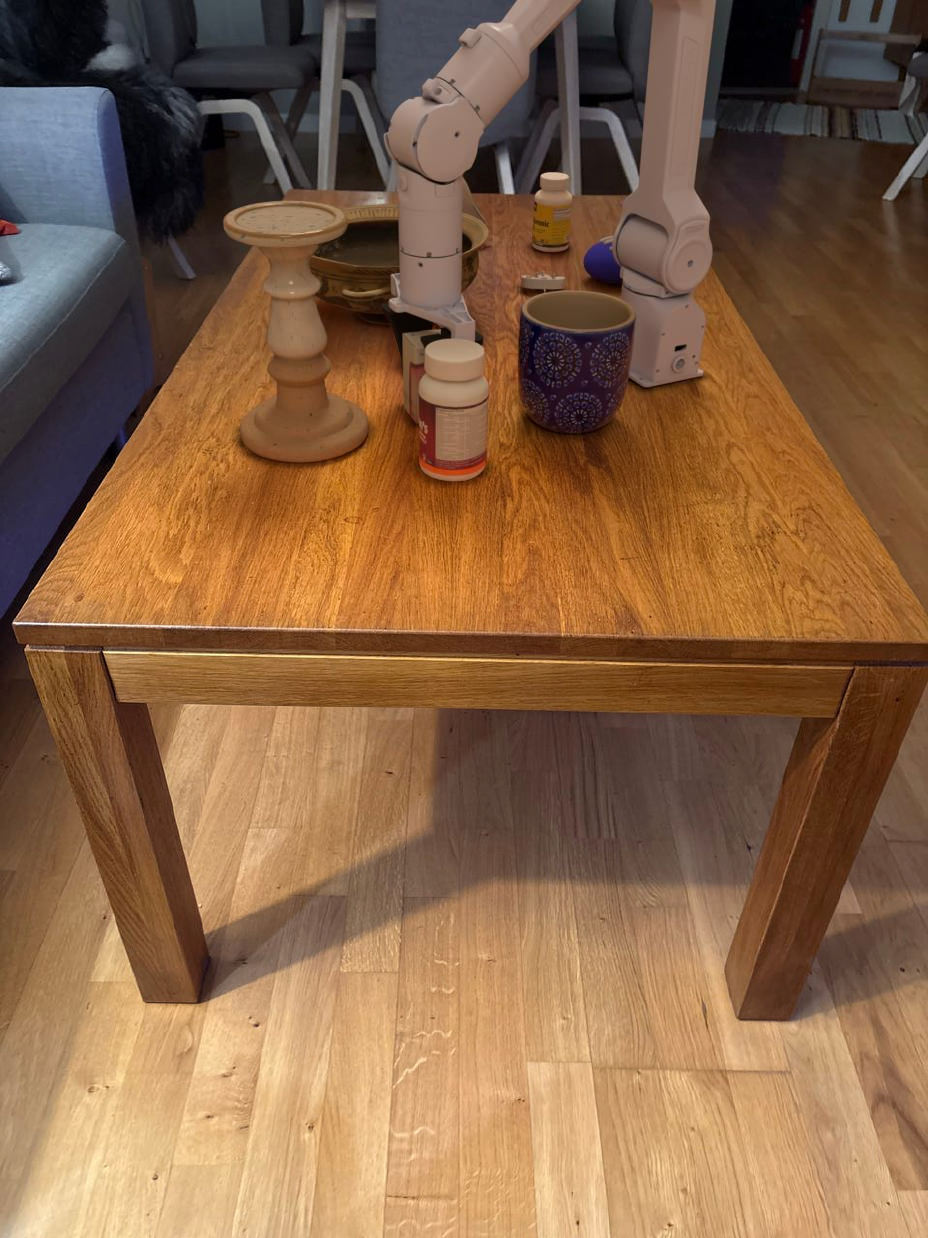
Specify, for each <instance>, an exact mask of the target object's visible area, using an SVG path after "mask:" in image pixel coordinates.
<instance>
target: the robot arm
mask: <svg viewBox="0 0 928 1238" xmlns="http://www.w3.org/2000/svg"><path fill="white" fill-rule="evenodd" d="M581 1H582V0H516V1H515V3H514V4H513V5H512V6H511V7H510V9H509V11H508V12H507V13H506V14H505V16H504V17H503V19H502V20H501V21H500V22H481V23H480V24H478V25H477V27H476V28H470V27H468V28H466V29H465V31H464V32H463V33H462V34H461V36H460V37H459V38H458V42H459V43H460V44H461V46H460V47H459V48H458V49H457V50H456V52H455V53H454V54H453V55H452V56H451V58H449V60H448V61H447V62H446V64H445V65H444V66H443V67H442V69H440V71H439V72H438V73H437V74H436V76H435V77H434V78H433V79H432V78H427V79H426V81H425V82H424V83H423V85H422V86H421V89H422V94H421V96H414V97H413V99H412V98H408V99H406V100H405V101H403V102H402V103H401V104H400V105H398V107H397V108H396V109H395V111H394V112H393V115H392V117H391V119H390V121H389V122H390V125H389V127H388V131H387V132H384V134H383V141H384V145H385V149H386V152H387V153H388V156H389V157H390V158H391V159H392V161H393V162H394V164H395V166H396V170H397V204H398V218H399V259H400V273H398V274H391V294H393V295H394V296H396V297H397V298H392V299H390V300H389V303H385V304H383V305H382V311H383V313H384V314H385V316H386V318H387V320H388V322H389V324H390V325H389V326H390V328H391V330H392V333H393V335H394V338H395V342H396V346H397V350H398V354H399V358H400V362H401V367H402V366H403V333H411V332H419V331H424V330H433V328H434V325H435V324H436V325H437V326H439V327H440V329H441V334H439V333H438V334H432V335H426V336H421V337H420V341H421V343H422V344H423V346H424V348H426V346H427V345H428V344H430V343H432V342H434V341H438V340H442V339H464V340H469V341H473V342H475V343H478V344H479V345H481V346H482V347H483V345H484V336H483V335H482V333H479V332H478V330H476V320H474V319H473V317H471V315H470V312H469V310H468V307H467V303H466V301H465V298H464V295H463V294H462V293H461V282H462V211H463V178H464V174H465V172H467V171H468V170H470V169H471V168H472V167H473V164H474V162H475V160H476V158H477V154H478V148H479V141H480V138H481V137H482V136H483V134H484V133H485V129H486V128H487V127H488V125H490V124H491V122H492V121H493V120H494V119H495V118H496V116H497V115H498V114H499V113H500V112H501V111H502V109H503V108H504V107H505V106H507V104H508V102H509V101H510V100H511V99H512V98H513V96H515V94H516V93H517V92H518V90H520V88H521V87H522V86H523V85H524V84H525V82H526V81H527V80H528V79H529V76H530V57H531V54H532V53H533V52H534V50H535V49H536V48H537V47H539V45H540V44H541V43H542V42H543V41H544V40H545V39H546V38H547V37H548V36H549V35H550V34H551V33H552V32H553V31H554V30H555V28H557V26H559V25H560V23H561V22H563V20H564V19H565V18H567V16H568V15H569V14H570V13H571V12H573V10H574V9H575V8H576V7H577V5H579V4H580V2H581ZM648 1H649V2H650V3H651V5H652V16H651V17H652V20H651V31H650V44H649V53H648V68H647V77H646V78H647V79H646V80H647V81H646V92H645V101H644V102H645V103H644V114H643V115H644V116H643V117H644V118H643V126H642V137H641V149H640V162H639V173H638V175H639V176H638V185H637V188H635V189H634V190H633V191H632V192H631V193H630V194H629V195H627V197H625V198H624V199H623V201H622V205H621V215H620V219H619V222H618V224H617V227H616V229H615V231H614V233H613V235H612V236H613V241H612V253H613V257H614V259H615V261H616V262H617V264H618V265H619V266H621V270H620V277H621V278H622V279H623V284H621V291H620V292H621V293H620V299H621V300H623V301H625V302H627V303H628V304H630V305H631V306H632V307H633V308H634V310H635V311H636V328H635V337H634V345H633V353H632V359H631V366H630V373H629V378H628V379H631V380H632V381H634V382H635V383H636V384H638V385H639V386H641V387H642V388H652V387H657V386H660V385H661V386H662V385H666V384H671V383H675V382H679V381H680V382H681V381H684V380H689V379H694V378H698V377H702V376H704V373H705V371H704V370H703V369H701V368H700V367H699V366H700V362H701V355H702V350H703V343H704V338H705V332H706V328H707V327H706V326H707V316H706V313H705V311H704V309H703V308H702V307H701V305H700V304H698V303H697V302H696V301H695V299H694V297H693V294H692V293H695V292H696V288H697V287H698V286H699V285H700V284H701V283H702V281H703V280H704V279H705V277H706V276H707V274H708V272H709V270H710V267H711V264H712V260H713V251H714V250H713V244H712V241H711V238H710V221H711V216H710V214H709V211H708V210H707V209H706V207H705V205H704V203H703V202H702V200H701V199H700V197H699V195H698V193H697V192H696V190H695V181H696V173H697V166H698V157H699V147H700V141H701V130H702V125H703V124H702V122H703V114H704V106H705V98H706V88H707V80H708V73H709V71H708V70H709V63H710V55H711V46H712V37H713V31H714V20H715V12H716V5H717V4H716V3H717V0H648Z"/></svg>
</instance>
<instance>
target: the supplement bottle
mask: <svg viewBox="0 0 928 1238" xmlns="http://www.w3.org/2000/svg"><path fill="white" fill-rule="evenodd" d="M569 182H570V176H569V175H568V174H566V173H564V172H556V171H554V172H552V171H551V172H550V171H549V172H544V173H542V174H541V175H540V177H539V187H540V188H541V189H539V190H538V191H536V193H535V195H534V201H533V216H532V217H533V219H532V237H531V239H532V240H531V245H532V247H533V248H534V249H536V250H537V251H541V252H545V253H559V252H563V251H566V250H567V249H568V248H569V246H570V236H571V235H570V234H571V224H572V223H571V222H572V211H573V210H572V209H573V195H572V194H571V191H568V190H567V189H569V185H570V184H569Z"/></svg>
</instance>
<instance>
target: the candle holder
mask: <svg viewBox="0 0 928 1238" xmlns="http://www.w3.org/2000/svg"><path fill="white" fill-rule="evenodd" d="M338 208H339V207H337V206H334V205H330V204H326V203H321V202H314V201H308V200H307V201H306V200H274V201H273V200H272V201H265V202H263V201H262V202H257V203H253V204H247V205H245V206H241V207H237V208H235V209H233V210H231V211H230V212H228V213H227V214H225V216H224V217H223V220H222V226H223V230H224V232H225V235H226V236H227V237H228V238H230V239H232V240H234V241H236V242H239V243H242V244H245V245H249V246H253V247H257V249H258V250H259V252H260V253H261V254H262V255H264V256H265V257H266V258H267V261H268V263H269V268H270V271H269V276H268V277H267V278H266V279H265V280H264V282H263V284H262V289H263V292H264V293H265V294H267V295H268V296H269V297H270V313H269V321H268V325H267V330H266V336H265V341H266V345H267V349H269V351H270V352H271V353H272V354H274V355H273V356H272V358H271V359H270V360H269V362H268V363H267V367H266V371H267V372H268V375H269V377H271V378H273V380H274V381H275V382H276V394H274V395H272V396H270V397H268V398H266V399H265V400H263V401H262V402H261V403H259V404H257V405H255V406H254V407H252V408H251V409H249V411H248V412H246V413H245V415H244V416H243V417H242V419H241V421H240V426H239V434H240V438H241V441H242V443H243V444H244V446H245V447H246V448H247V449H249V451H251V452H252V453H254V454H256V455H257V456H260V457H262V458H266V459H269V460H274V461H278V462H285V463H314V462H322V461H327V460H332V459H335V458H338V457H341V456H343V455H347V454H348V453H350V452H352V451H354V450H356V448H358V447H359V446H361V444H363V443H364V441H366V439H367V437H368V434H369V429H370V425H369V423H370V422H369V418H368V416H367V414H366V412H365V411H364V410H363V409H362V408H361V407H360V406H358V405H357V404H356V403H354V402H352V401H351V400H348V399H346V398H343V397H341V396H339V395H337V394H335V393H333V392H329V391H327V388H326V382H325V379H326V378H327V377H328V375H329V374H330V372H331V370H332V363H331V361H330V360H329V359H328V357H326V356H325V355H324V353H323V351H324V349H325V348H326V347H327V343H328V335H327V332H326V328H325V326H324V324H323V322H322V319H321V316H320V313H319V310H318V306H317V301H316V296H315V295H314V294H316V293H317V292H318V291H319V290H320V287H321V284H320V281H319V280H318V279H317V278H316V277H315V276H314V275H313V274H312V273H311V270H310V259H311V255H312V254H313V253H314V252H315V251H316V250H317V247H318V245H319V244H321V243H325V242H328V241H330V240H333V239H335V238H337V237H339V236H341V235H342V234H344V233H345V232H346V229H347V227H348V219H347V216H346V214H345V213H344V212H343V211H342V210H340V209H338Z"/></svg>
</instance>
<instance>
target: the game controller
mask: <svg viewBox="0 0 928 1238" xmlns="http://www.w3.org/2000/svg"><path fill="white" fill-rule="evenodd" d="M539 273H540V272H538V271H536V272H535V276H532V275H527V274H526V275H525V274H524V275H521V276H520V277H521V278H520V286H521V287H523V289H535V290H543V291H544V293H547V291H546V290H562V289H564V288H565V284H566V277H565V276H556V273H555V272H554V273H552V277H551V276H550V275H548V274H547V273H545V270H541V273H540V274H539Z"/></svg>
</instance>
